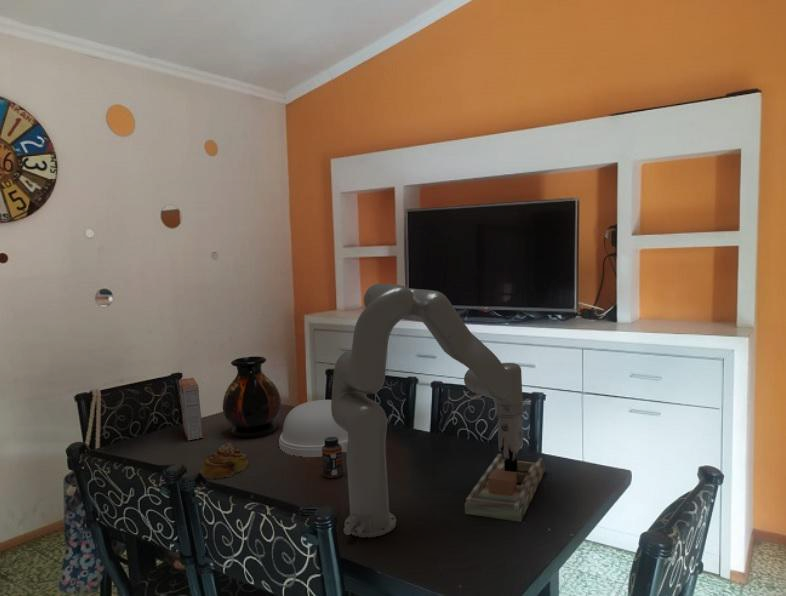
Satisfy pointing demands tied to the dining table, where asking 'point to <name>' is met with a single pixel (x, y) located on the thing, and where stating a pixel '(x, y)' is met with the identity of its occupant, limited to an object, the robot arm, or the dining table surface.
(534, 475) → the board
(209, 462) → the pastry
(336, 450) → the supplement bottle
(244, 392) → the dark brown vase
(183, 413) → the cracker box
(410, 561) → the dining table surface
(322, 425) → the dome cover
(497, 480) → the terracotta block
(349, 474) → the robot arm
